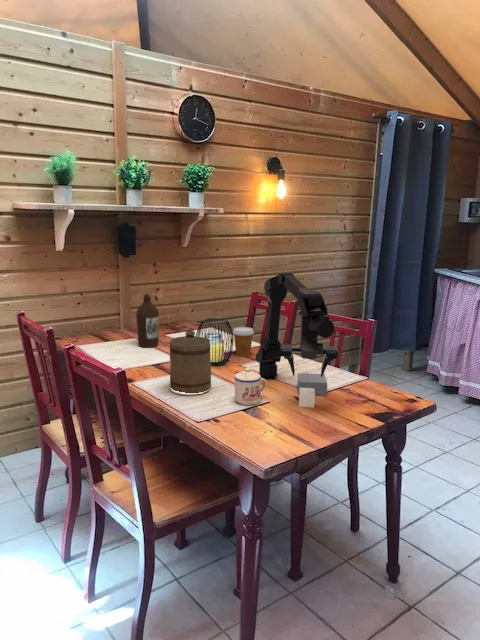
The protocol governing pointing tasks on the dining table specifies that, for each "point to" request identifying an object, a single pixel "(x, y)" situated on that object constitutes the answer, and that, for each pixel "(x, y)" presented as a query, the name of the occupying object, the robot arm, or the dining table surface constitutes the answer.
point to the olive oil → (147, 323)
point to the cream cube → (306, 397)
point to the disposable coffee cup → (243, 340)
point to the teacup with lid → (248, 387)
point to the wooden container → (190, 363)
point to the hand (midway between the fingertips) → (307, 376)
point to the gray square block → (313, 383)
